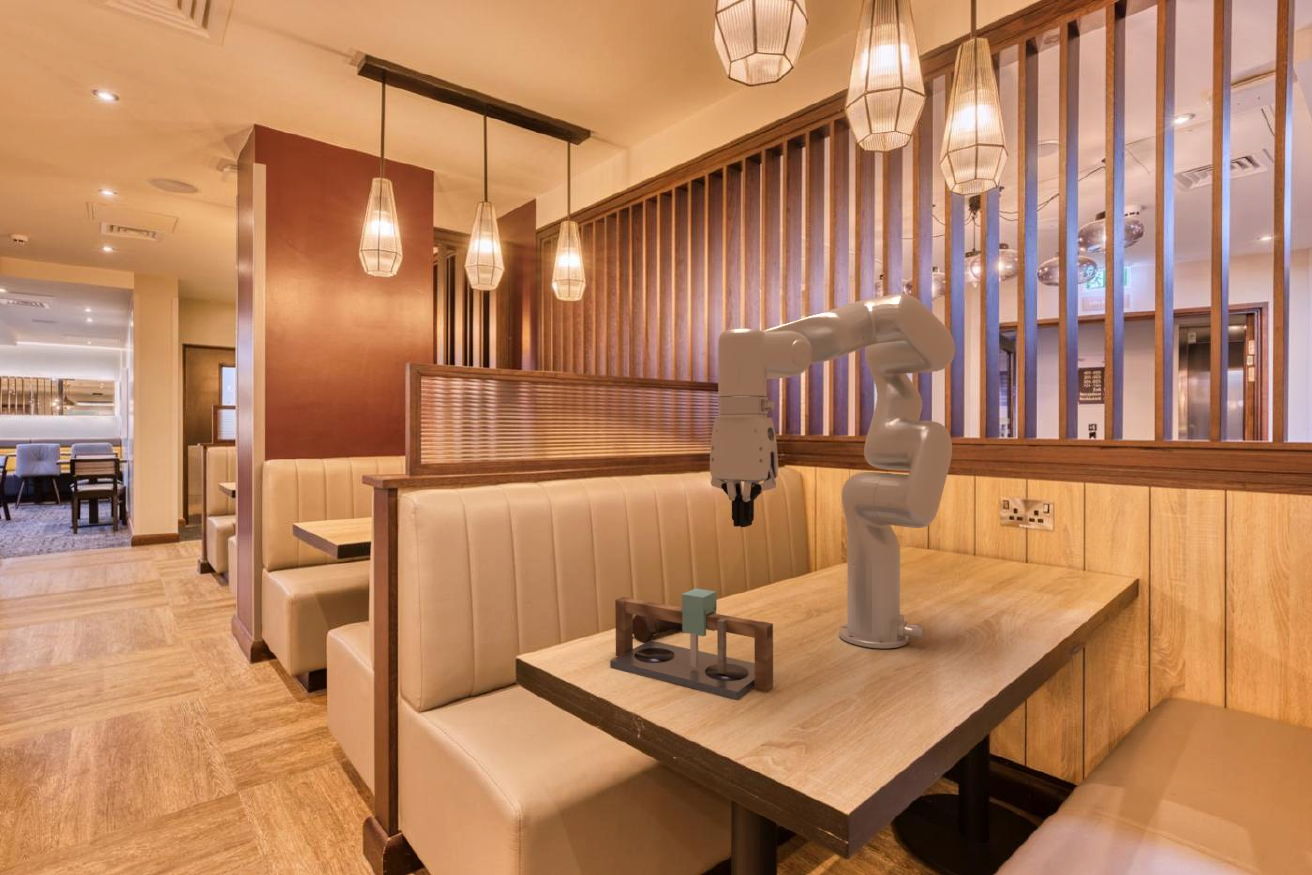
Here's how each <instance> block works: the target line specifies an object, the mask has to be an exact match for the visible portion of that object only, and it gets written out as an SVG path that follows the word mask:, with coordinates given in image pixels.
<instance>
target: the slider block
mask: <svg viewBox="0 0 1312 875" xmlns="http://www.w3.org/2000/svg"><path fill="white" fill-rule="evenodd" d="M681 608H682V633H685V634H689V635H690V638H689V640H690V641H689V642H690V645H689V647H690V648H689V649H690V664H691V666H692V667H697V666H698V651H699V636H700V637H706V636H707V630H708V631H712V632H714V631H715V632H716V630H712V629H707V628H706V615H707V614H709V613H715V614H717V610H718V609H717V591H714V590H710V589H709V590H708V589H702V588H696V587H695V588H692V589H691V590H689V591H686V592H684V593H681Z"/></svg>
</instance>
